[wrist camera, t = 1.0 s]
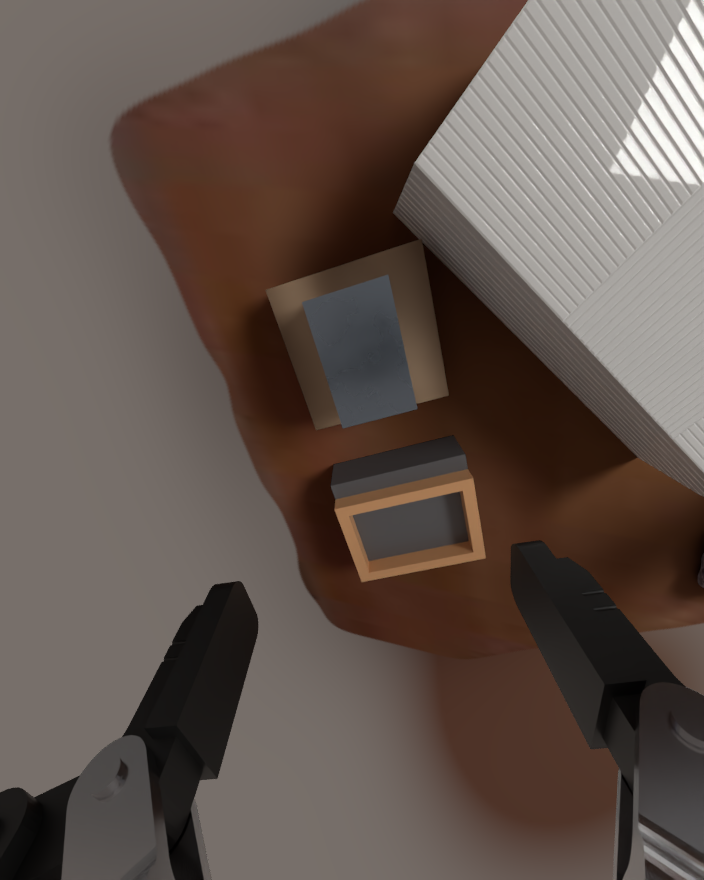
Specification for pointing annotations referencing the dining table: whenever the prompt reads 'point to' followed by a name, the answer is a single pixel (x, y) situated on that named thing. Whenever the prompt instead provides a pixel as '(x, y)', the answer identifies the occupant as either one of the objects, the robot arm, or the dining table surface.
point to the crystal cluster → (701, 573)
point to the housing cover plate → (362, 351)
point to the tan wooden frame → (408, 509)
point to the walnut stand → (412, 314)
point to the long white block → (587, 209)
